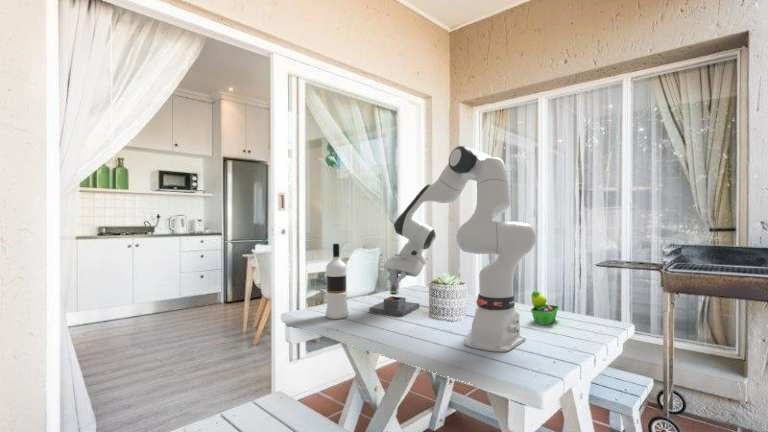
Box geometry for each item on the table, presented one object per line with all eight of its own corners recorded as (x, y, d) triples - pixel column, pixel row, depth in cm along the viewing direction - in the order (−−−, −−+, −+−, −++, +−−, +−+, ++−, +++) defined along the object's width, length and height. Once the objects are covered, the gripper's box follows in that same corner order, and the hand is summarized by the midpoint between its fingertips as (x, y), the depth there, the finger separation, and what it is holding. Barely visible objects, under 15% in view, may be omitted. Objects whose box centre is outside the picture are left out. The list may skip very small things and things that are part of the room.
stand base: (402, 316, 165) (402, 302, 165) (369, 312, 173) (369, 298, 173) (419, 307, 179) (419, 294, 179) (387, 304, 187) (387, 291, 187)
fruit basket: (551, 326, 149) (551, 295, 149) (527, 322, 154) (526, 292, 154) (559, 319, 158) (559, 290, 158) (536, 315, 163) (535, 287, 163)
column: (396, 295, 173) (396, 270, 173) (388, 294, 175) (388, 270, 175) (400, 293, 177) (400, 269, 176) (392, 292, 179) (392, 268, 178)
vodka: (336, 321, 160) (334, 245, 160) (321, 317, 166) (319, 243, 166) (353, 316, 167) (352, 243, 166) (338, 312, 173) (337, 242, 173)
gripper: (390, 249, 188) (374, 273, 182) (421, 253, 172) (405, 279, 166) (397, 258, 191) (381, 282, 185) (429, 262, 175) (413, 288, 169)
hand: (393, 280), depth 175 cm, fingers closed on column, 4 cm apart
